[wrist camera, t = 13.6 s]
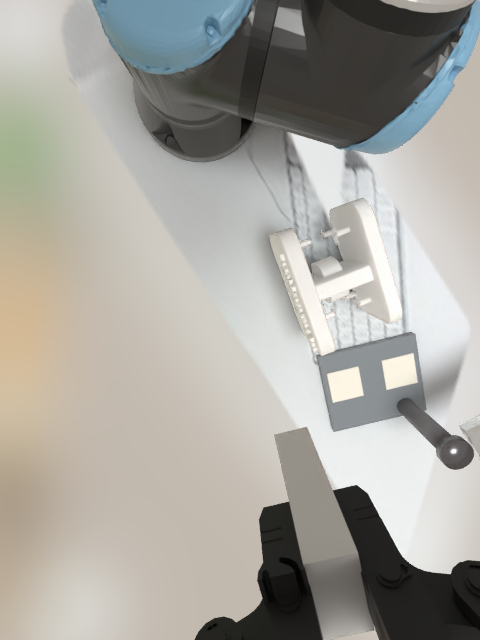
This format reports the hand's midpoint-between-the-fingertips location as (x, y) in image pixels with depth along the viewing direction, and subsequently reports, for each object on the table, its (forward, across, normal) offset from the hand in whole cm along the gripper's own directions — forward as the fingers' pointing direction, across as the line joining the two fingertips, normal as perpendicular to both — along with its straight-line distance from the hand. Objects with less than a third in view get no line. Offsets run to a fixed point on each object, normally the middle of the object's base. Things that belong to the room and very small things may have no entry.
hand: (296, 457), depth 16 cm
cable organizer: (+35, +10, +3) cm, 36 cm away
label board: (+34, +14, -14) cm, 40 cm away
